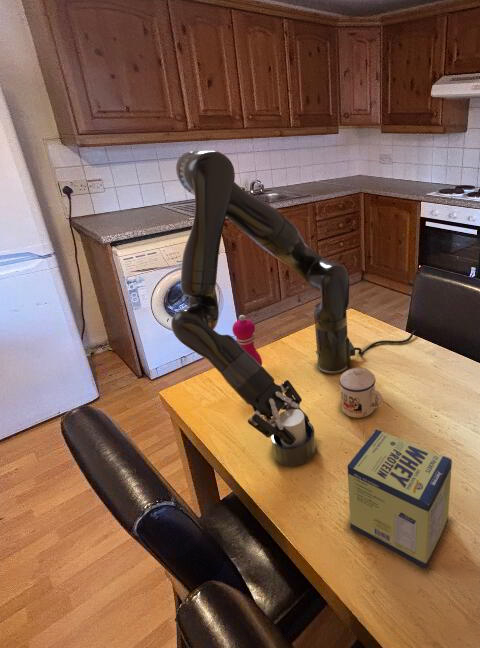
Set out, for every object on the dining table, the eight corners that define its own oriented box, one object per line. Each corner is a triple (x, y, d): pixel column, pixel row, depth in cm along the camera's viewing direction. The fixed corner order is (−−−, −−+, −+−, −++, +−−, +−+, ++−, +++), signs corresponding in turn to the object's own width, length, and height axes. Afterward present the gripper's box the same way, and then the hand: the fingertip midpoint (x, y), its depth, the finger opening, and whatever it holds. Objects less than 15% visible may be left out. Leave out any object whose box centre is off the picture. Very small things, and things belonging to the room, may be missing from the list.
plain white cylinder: (304, 433, 97) (301, 406, 94) (309, 450, 92) (306, 422, 89) (280, 439, 95) (276, 412, 92) (283, 457, 90) (280, 429, 87)
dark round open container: (310, 431, 100) (309, 415, 98) (319, 460, 91) (318, 442, 90) (271, 441, 97) (269, 424, 95) (276, 471, 89) (274, 454, 87)
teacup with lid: (333, 410, 107) (331, 372, 102) (354, 391, 113) (353, 355, 109) (371, 428, 100) (371, 389, 96) (392, 408, 107) (392, 370, 102)
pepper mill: (267, 369, 124) (259, 309, 116) (258, 384, 117) (249, 321, 109) (243, 368, 124) (234, 309, 117) (234, 383, 118) (223, 321, 110)
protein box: (376, 487, 85) (375, 427, 79) (448, 521, 77) (454, 458, 71) (348, 528, 76) (345, 465, 70) (426, 571, 69) (430, 505, 63)
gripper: (235, 389, 83) (292, 450, 83) (274, 352, 95) (324, 405, 96) (217, 404, 86) (273, 462, 87) (257, 367, 99) (306, 418, 99)
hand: (299, 432), depth 91 cm, fingers closed on plain white cylinder, 5 cm apart
